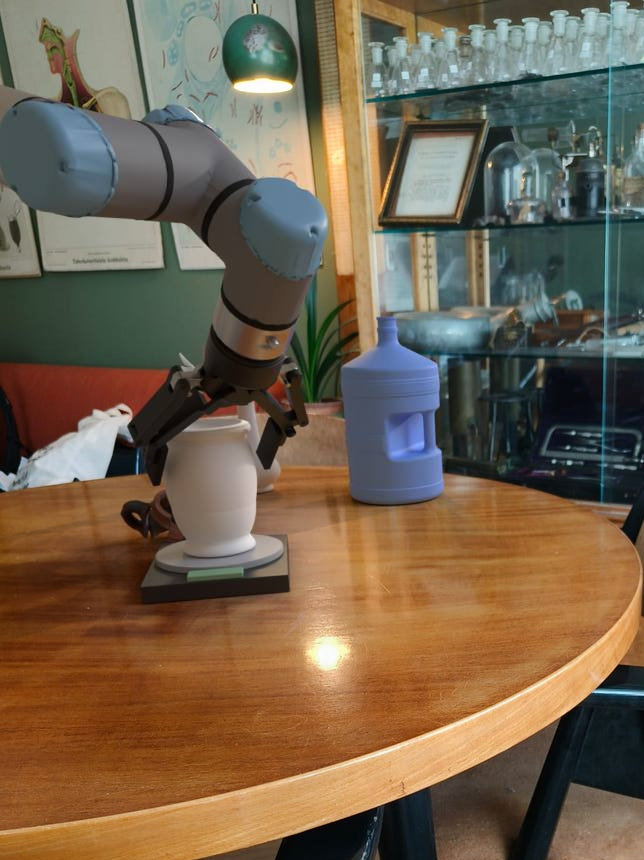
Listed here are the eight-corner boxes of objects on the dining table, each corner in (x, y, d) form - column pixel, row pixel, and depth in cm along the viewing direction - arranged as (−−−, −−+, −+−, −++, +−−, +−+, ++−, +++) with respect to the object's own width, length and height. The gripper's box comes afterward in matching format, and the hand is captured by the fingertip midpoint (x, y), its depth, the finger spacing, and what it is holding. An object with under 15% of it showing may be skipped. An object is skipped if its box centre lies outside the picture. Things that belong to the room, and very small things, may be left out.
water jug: (332, 503, 143) (316, 319, 132) (377, 484, 156) (365, 316, 146) (420, 508, 137) (410, 317, 127) (458, 488, 151) (452, 314, 141)
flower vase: (200, 487, 158) (179, 339, 149) (305, 480, 161) (290, 335, 152) (192, 502, 146) (169, 343, 137) (305, 495, 149) (290, 339, 140)
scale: (142, 604, 97) (138, 580, 96) (163, 558, 115) (160, 537, 114) (290, 591, 100) (287, 567, 99) (288, 548, 118) (286, 527, 117)
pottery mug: (209, 531, 129) (217, 487, 124) (206, 575, 123) (214, 530, 117) (121, 518, 125) (125, 471, 119) (114, 563, 119) (117, 516, 113)
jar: (180, 566, 101) (159, 433, 95) (170, 545, 110) (150, 422, 104) (272, 553, 105) (258, 425, 99) (256, 534, 114) (241, 415, 108)
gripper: (137, 374, 79) (112, 511, 95) (373, 356, 93) (316, 478, 110) (108, 311, 81) (88, 456, 97) (343, 303, 95) (292, 431, 112)
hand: (209, 468), depth 104 cm, fingers open, 13 cm apart
